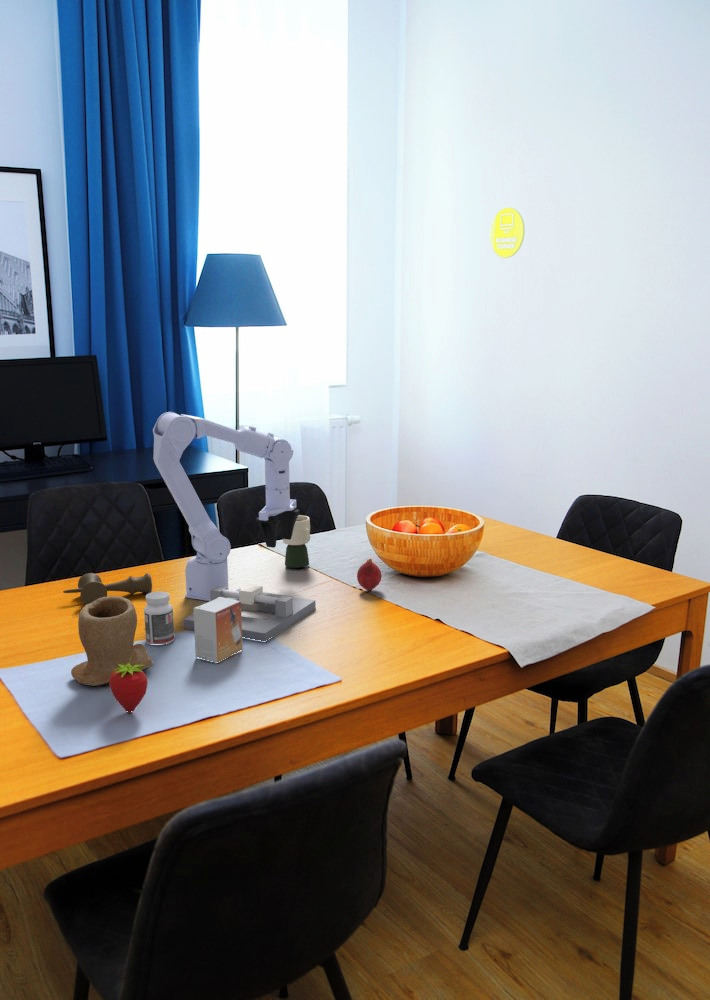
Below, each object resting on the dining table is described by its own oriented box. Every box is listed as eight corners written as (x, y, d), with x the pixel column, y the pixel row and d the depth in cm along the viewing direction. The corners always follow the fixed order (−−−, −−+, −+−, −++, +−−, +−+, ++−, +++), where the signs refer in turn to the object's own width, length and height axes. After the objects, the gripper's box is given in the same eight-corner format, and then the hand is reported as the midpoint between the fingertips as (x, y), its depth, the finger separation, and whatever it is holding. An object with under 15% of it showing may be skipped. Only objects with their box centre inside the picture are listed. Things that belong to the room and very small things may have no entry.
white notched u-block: (234, 607, 192) (234, 589, 192) (247, 601, 197) (247, 583, 196) (254, 611, 190) (254, 593, 190) (267, 604, 195) (267, 586, 194)
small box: (217, 665, 170) (214, 612, 168) (194, 659, 173) (192, 607, 170) (243, 651, 177) (241, 600, 174) (221, 645, 179) (219, 595, 177)
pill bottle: (179, 637, 183) (177, 592, 181) (165, 648, 178) (162, 600, 176) (155, 634, 185) (152, 589, 183) (140, 644, 180) (137, 597, 178)
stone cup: (94, 698, 156) (88, 617, 153) (64, 678, 165) (57, 601, 161) (169, 673, 166) (165, 597, 163) (136, 655, 175) (132, 582, 171)
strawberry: (135, 699, 156) (131, 645, 153) (157, 714, 150) (153, 658, 148) (103, 710, 152) (99, 655, 149) (125, 725, 146) (121, 668, 144)
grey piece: (183, 628, 189) (182, 602, 188) (239, 596, 208) (238, 573, 207) (265, 642, 180) (264, 616, 179) (315, 608, 200) (315, 584, 199)
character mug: (320, 568, 229) (320, 519, 226) (298, 574, 224) (297, 524, 221) (295, 559, 237) (294, 512, 234) (273, 565, 233) (272, 516, 230)
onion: (379, 595, 208) (379, 562, 206) (354, 594, 209) (354, 561, 208) (383, 587, 214) (383, 555, 212) (359, 586, 215) (359, 554, 213)
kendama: (155, 601, 208) (65, 610, 200) (148, 590, 216) (62, 598, 209) (154, 576, 206) (64, 584, 199) (147, 566, 215) (60, 574, 208)
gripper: (276, 495, 204) (278, 552, 207) (306, 483, 216) (307, 537, 220) (250, 492, 207) (252, 549, 210) (281, 480, 219) (282, 534, 222)
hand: (279, 542), depth 215 cm, fingers open, 7 cm apart
